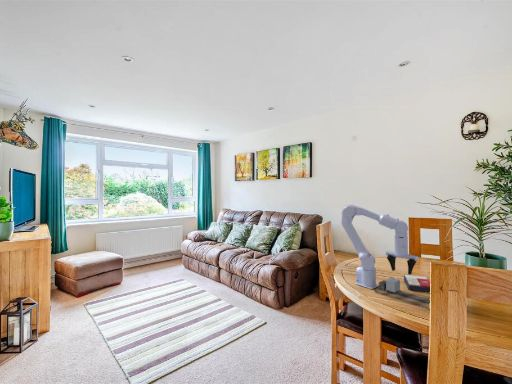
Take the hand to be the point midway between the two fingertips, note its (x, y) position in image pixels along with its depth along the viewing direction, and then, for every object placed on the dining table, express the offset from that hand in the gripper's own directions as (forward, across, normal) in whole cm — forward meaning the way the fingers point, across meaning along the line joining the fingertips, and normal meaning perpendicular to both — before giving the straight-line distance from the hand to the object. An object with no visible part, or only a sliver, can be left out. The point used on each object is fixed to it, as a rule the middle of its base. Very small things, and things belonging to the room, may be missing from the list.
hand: (401, 272), depth 122 cm
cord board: (+9, +5, -7) cm, 13 cm away
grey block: (+8, -1, -7) cm, 10 cm away
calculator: (+10, +3, +13) cm, 17 cm away
